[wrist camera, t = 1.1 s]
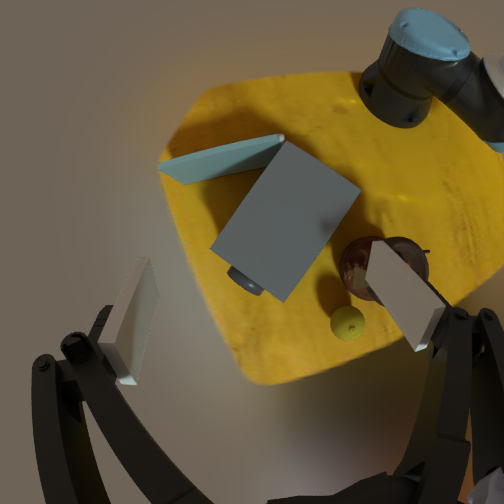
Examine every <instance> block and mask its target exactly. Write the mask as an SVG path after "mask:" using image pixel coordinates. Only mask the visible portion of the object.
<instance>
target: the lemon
mask: <svg viewBox="0 0 504 504" xmlns="http://www.w3.org/2000/svg"><path fill="white" fill-rule="evenodd" d="M330 326H331V330H332V332H333V333H334V335H335V336H336V337H337V338H339V339H341V340H343V341H352V340H355V339H357V338H358V337H359V336H360V335H361V334H362V333H363V330H364V327H365V320H364V317H363V314H362V313H361V312H360V310H358V309H357V308H355V307H353V306H342V307H340V308H338V309H337V310H336V311H335V312H334V313H333V315H332V317H331V321H330Z"/></svg>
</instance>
